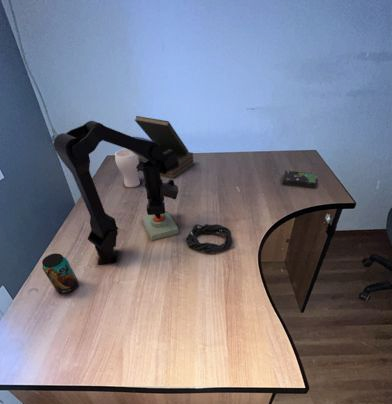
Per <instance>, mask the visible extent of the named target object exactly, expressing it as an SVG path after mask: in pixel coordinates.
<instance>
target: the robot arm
mask: <svg viewBox="0 0 392 404" xmlns="http://www.w3.org/2000/svg"><path fill="white" fill-rule="evenodd" d="M101 142H106V143H109V144H112V145H114V146H117V147H120V148H122V149H129V150H130V151H132V152H133V153H135V154H136V155H138V157H139V156H140V157H142V158H145V159H147V160H148V161H145V162H143V161H140V162H139V164H138V165H137V167H136V168H137V169H138V170H139V171H142V175H143V178H144V188H145V190H146V199H147V204H146V214H147V216H148V215H155V216H156V217H157V218H160V214H164V213H165V211H166V205H165V202H164V201H165V198H169V199H172V200H177V197H178V195H179V186H178V185H177V184H175V180H174V179H172V178H169V180H168V181H165V182H163V179H162V177H161V175H160V173H161V174H163V175H165V174H167V173H169V172H171V171H173V170H176V169H177V168H178V166H179V162H178V160H177V158H176V156H175V155H174V152H173V150H170V149H169V150H167V151H166V152H162V151H161V150H160V147H159V144H158V143H157V142H154V141H152V140H151V139H150V138H145V137H141V136H131V135H129V134H126V133H123V132H121V131H119V130H116V129H114V128H111V127H108V126H106V125H104V124H103V123H101V122H98V121H95V120H88V121H86V122H85V123H84V124H83V125H80V126H77V127H75V128H71V129H70V130H69V131H67V132H63V133H59V134H58V135H56V137H55V138H54V141H53V149H54V151H55V152H56V154H57V156H58V157H59V159H60V160H61V161H62V163H63V164H64V166H65V167H66V168H67V169H68V170H69V172H70V173H71V175H72V177H73V179H74V181H75V184H76V186H77V188H78V191H79V193H80V195H81V197H82V200H83V202H84V204H85V207H86V210H87V211H88V213H89V216H90V218H89V225H90V232H89V234H88V236H87V241H89V243H90V244H92V245H93V246H94V248H95V251H96V254H97V256H98V259H97V265H101V266H102V265H109V264H110V265H111V264H116V263H118V255H119V250H115V248H116V247H117V236H118V235H119V231H118V230H119V227H118V226H117V222H116V219H115V217H112V216H111V215H110V214H108V213H106V211H105V208H104V206H103V203H102V200H101V198H100V195H99V193H98V190H97V187H96V184H95V182H94V180H93V177H92V174H91V171H90V168H91V159H90V154H92V153H93V152H94V151H95V150H96V149H97V147H98V146H99V144H100V143H101Z"/></svg>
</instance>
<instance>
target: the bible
mask: <svg viewBox="0 0 392 404" xmlns="http://www.w3.org/2000/svg"><path fill="white" fill-rule="evenodd" d="M134 121H135V123H136V124H137V125H138V126H139V128H140V129H141V130H142V131H143V132H144V133H145V135H147V137H148V139H149V140H151V141H154V142H157V143H158V144H159V147H160V150H161V151H162V152H166V151H167V150H169V149H170V150H173V152H174V155H175V156H176V158H177V160H178V162H179V166H178V168H177V169H176V170H173V171H171V172H169V173H167V174H165V175H163V174H161V173H160V176H162V177H165V178H169V179H172V180H174V179H175V178H176V177H177V176H180V174H182V173H184V172H185V171H186V170H188V169H189V168H191V167H192V166H194V152H191V151H189V150H188V148H187V145H185V143H184V142H183V140H182V139H181V138H180V136H179V135H178V133H177V132H176V130H175V128H174V127H173V126H172V124H171V122H170V121H169V120H163V119H158V118H152V117H145V116H139V115H135V118H134ZM138 159H139V162H140V161H143V162H145V161H148V160H147V159H145V158H142V157H140V156H138Z"/></svg>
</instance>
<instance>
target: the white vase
mask: <svg viewBox="0 0 392 404" xmlns="http://www.w3.org/2000/svg"><path fill="white" fill-rule="evenodd" d="M114 157H115V158H114V160H115V164H116V167H117V168H118V170H119V171H120V173H121V175H122V177H123V183H124V187H126V188H137V187H138V186H140V184H141V181H140V179H139V176H138V170H139V169H137V168H136V167H137V165H138V164H139V159H138V157H139V156H138V155H136V154H135V153H133V152H132V151H130V150H129V149H126V148H122V149H119V150H117V151H116V152H115V153H114Z"/></svg>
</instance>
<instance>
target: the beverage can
mask: <svg viewBox="0 0 392 404" xmlns="http://www.w3.org/2000/svg"><path fill="white" fill-rule="evenodd" d="M41 264H42V270H43V272H44V274H45V276H46V277H47V278H48V280H49V282H50V283H51V285H52V287H53V288H54V290H55V291H56V293H58V294H59V295H70V294H73V293H74V292H76V290H77V289H78V288H79V286H80V282H79V280H78V277H77V276H76V274H75V272H74V270H73V268H72V266H71V265H70V262H69V260H68V259H67V258H66V257H64V256H63V255H62V254H61V253H57V252H55V253H51V254H48V255H46V256H45V257H44V258H43V259H42V260H41Z"/></svg>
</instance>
